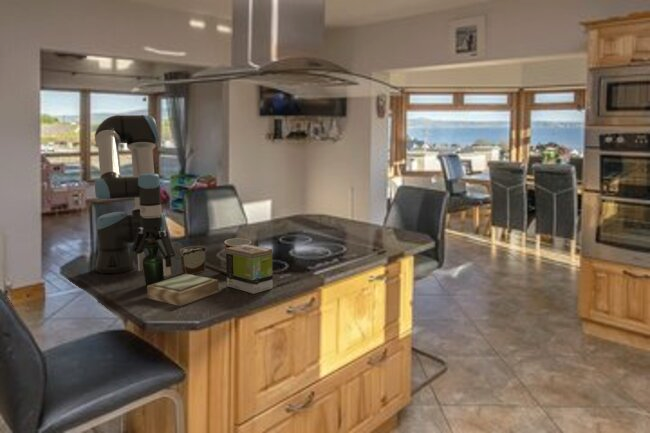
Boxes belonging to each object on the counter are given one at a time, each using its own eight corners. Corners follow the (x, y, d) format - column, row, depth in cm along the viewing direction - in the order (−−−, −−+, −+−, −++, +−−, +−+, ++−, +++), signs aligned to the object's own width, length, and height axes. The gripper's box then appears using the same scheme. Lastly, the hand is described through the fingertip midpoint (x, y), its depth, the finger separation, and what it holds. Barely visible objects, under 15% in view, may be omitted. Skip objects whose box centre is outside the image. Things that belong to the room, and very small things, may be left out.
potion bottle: (153, 281, 209) (150, 234, 206) (171, 283, 206) (168, 236, 203) (139, 287, 202) (135, 239, 199) (157, 289, 199) (154, 240, 196)
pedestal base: (147, 298, 189) (146, 284, 188) (186, 285, 204) (185, 272, 203) (180, 306, 180) (179, 291, 180) (218, 291, 196) (218, 278, 195)
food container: (198, 267, 229) (197, 244, 227) (207, 270, 225) (206, 246, 223) (173, 274, 219) (172, 249, 217) (182, 276, 215) (181, 251, 214)
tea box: (274, 288, 199) (273, 248, 197) (252, 294, 192) (251, 253, 190) (247, 280, 209) (245, 242, 207) (226, 286, 202) (224, 247, 200)
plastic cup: (232, 274, 218) (231, 244, 216) (220, 268, 227) (219, 240, 225) (256, 270, 224) (256, 241, 222) (244, 264, 233) (243, 237, 231)
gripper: (120, 214, 203) (123, 270, 207) (167, 220, 190) (170, 280, 194) (136, 212, 209) (140, 266, 213) (183, 217, 196) (186, 275, 200)
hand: (154, 272), depth 203 cm, fingers open, 13 cm apart
